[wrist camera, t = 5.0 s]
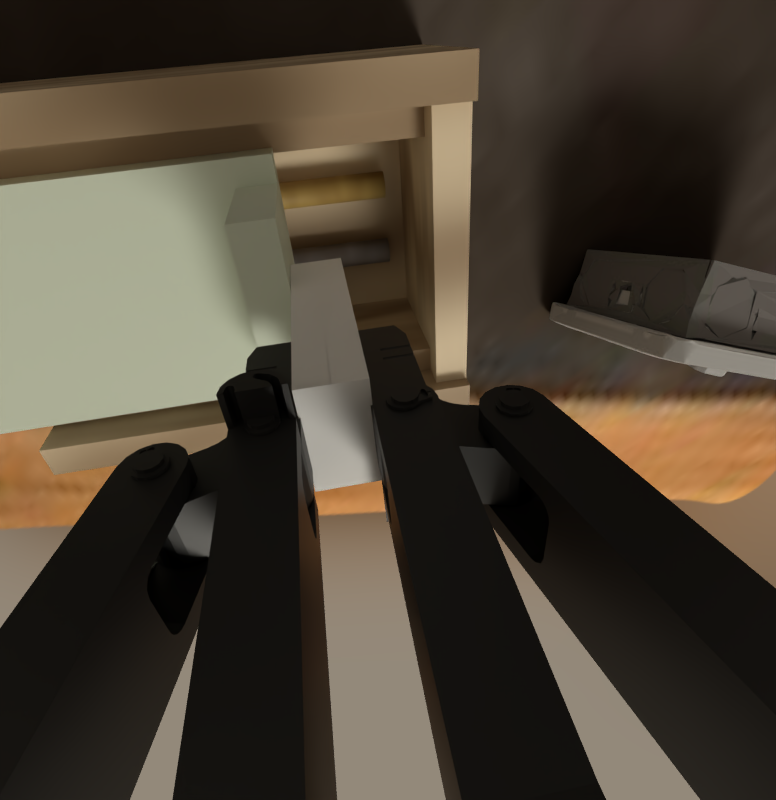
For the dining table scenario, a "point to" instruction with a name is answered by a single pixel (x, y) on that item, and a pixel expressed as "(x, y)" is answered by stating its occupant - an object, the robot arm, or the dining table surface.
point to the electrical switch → (677, 310)
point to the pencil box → (288, 189)
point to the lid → (138, 285)
